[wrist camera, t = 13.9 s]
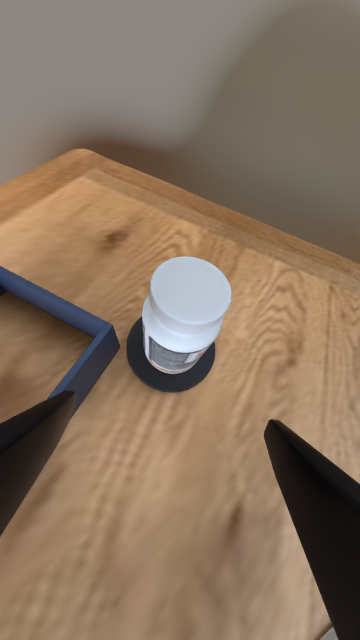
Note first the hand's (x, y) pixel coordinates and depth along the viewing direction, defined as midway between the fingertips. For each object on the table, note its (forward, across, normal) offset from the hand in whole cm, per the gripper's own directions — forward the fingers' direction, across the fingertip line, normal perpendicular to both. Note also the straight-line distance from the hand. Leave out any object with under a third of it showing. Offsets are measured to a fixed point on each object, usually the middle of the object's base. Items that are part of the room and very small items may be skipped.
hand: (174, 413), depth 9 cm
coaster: (+11, 0, +2) cm, 11 cm away
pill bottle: (+11, 0, +2) cm, 11 cm away
